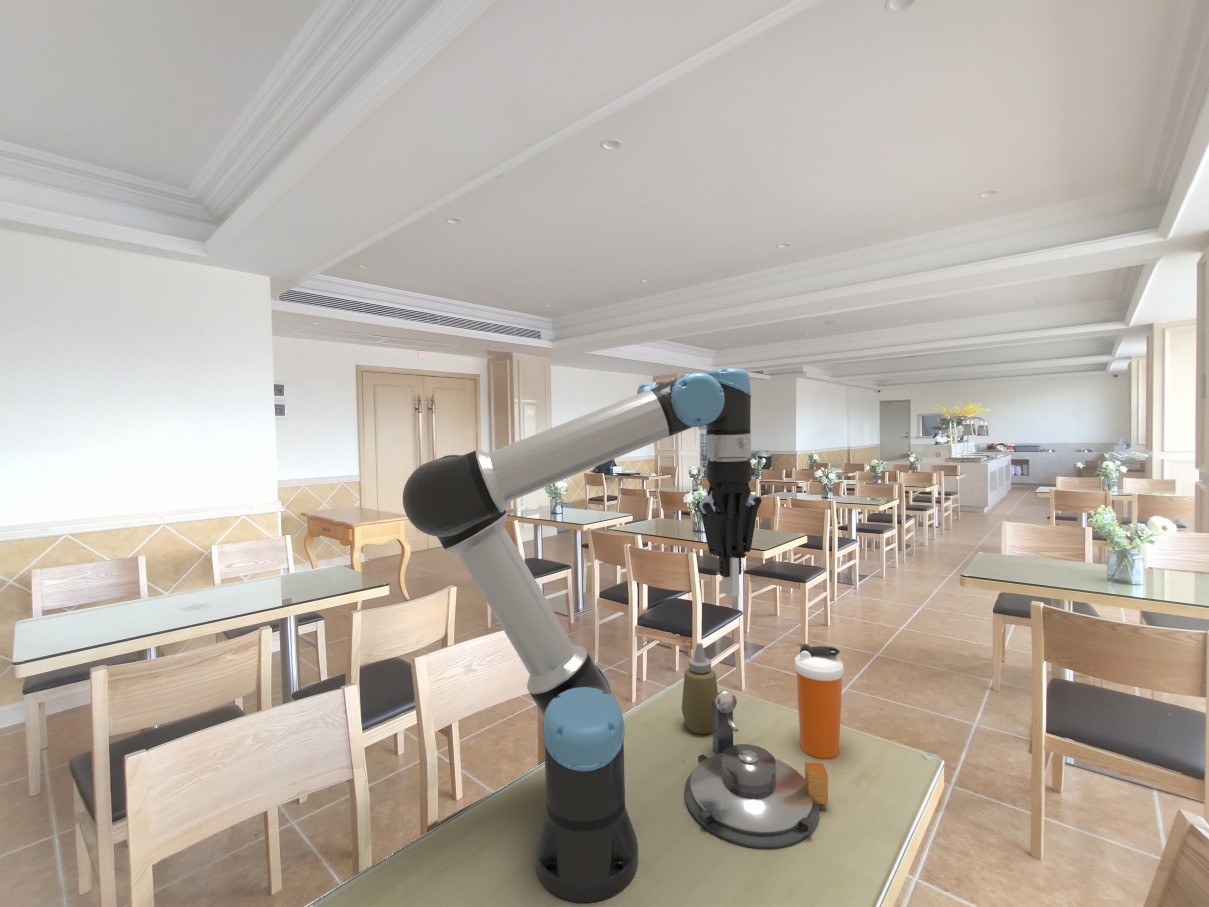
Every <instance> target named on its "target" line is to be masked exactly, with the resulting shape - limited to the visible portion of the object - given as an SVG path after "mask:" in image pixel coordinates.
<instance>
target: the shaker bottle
mask: <svg viewBox="0 0 1209 907" xmlns="http://www.w3.org/2000/svg"><path fill="white" fill-rule="evenodd" d="M839 654H841V653H840V650H839V649H838V648H837V647H833V646H825V645H824V646H822V645H819V646H816V645H815V646H810V644H808V643H802V644H801V645H800V647H799V653H798V655H796V656H795V658H794V671H795V673H796V676H795V677H796V691H797V707H798V708H797V709H798V710H797V711H798V724H799V725H798V727H799V740H800V741H799V743H800V749H802V750H801V751H803V752H804V753H806V754H807V755H810V756H811V757H813V758H817V759H822V760H823V759H824V760H825V759H826V760H828V759H829V760H830V759H834V758H836V757H837V756H838V755H839V752H840V735H841V734H840V732H841V731H840V730H841V714H842V713H841V711H842V710H841V709H842V694H843V692H842V687H843V677H844V675H845V674H844V672H845V671H844V663H843V662H842V660H841V659H840V658H839V657H838V655H839Z"/></svg>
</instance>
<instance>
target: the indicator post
mask: <svg viewBox="0 0 1209 907" xmlns="http://www.w3.org/2000/svg"><path fill="white" fill-rule="evenodd" d="M737 701H738V700H737V697H736V696H735V694H734V693H733V692H732V691H731V690H727V689H724V690H721V691H718V694H717V696H716V698H715V699H712V716H713V731H712V750H713V751H714V752H715V755H716V754H720V753H723V751H724V750H725V749H726V748H728V747H730V746H733V745H734V733H738V731H739V728H738V727H737V726H736V724H735V723H734V713H733V712H734V710H735V709H736V707H737V703H738V702H737Z"/></svg>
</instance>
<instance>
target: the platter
mask: <svg viewBox="0 0 1209 907" xmlns="http://www.w3.org/2000/svg"><path fill="white" fill-rule="evenodd" d="M775 761H776V789H775V791H774V793H773V794H771V795H770V796H768V797H766V798H762V799H747V798H743V797H740V796H737V795H735V794H733V793H731V792H730V791H729V790H728V789H727V788H726V787H725V786H724V784H723V782H722V753H720V754H716V753H715V754H713V755H711V756H706V755H705V754H703V753H702V754H700V755H698V756H697V762H698V764H697V765H696V766H695V767H694V769H693V770H694V771H693V770H692V771H693V772H692V771H691V773H692V775H691V781H690V783H691V795H692V798H693V800H694V802H695V804H696V805H697V807H698V808H699V809H700V810H701V811H702V813H700V820H701V821H702V822H703V823H705V824H707V823H708V822H710V821H711V820H713V821H714V822H716V823H717V824H719V825H721V826H723V827H725V828H728V829H730V830H733V831H736V832H739V833H744V834H748V835H756V836H774V835H780V834H785V833H788V832H791V831H793V830H796V829H797V828H799V827H800V828H802V829H804V830H805V831H807V832H809V831H811V830H812V829H813V823H812V822H811V821H809V820H808V819H809V817H810V815H811V813H812V808H813V803H818V804H821V805H823V804H824V805H828V804H829V779H828V778H829V774H828V771H827V770H826V766H825V764H824V763H821V762H820V763H819V762H818V763H817V762H804V776H803V775H802V774H801V773H800V772H798V770H796V769H795V768H794V767H792V766H790V765H789V764H787V763H786V762H783V761H782V760H779V759H777V758H775Z"/></svg>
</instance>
